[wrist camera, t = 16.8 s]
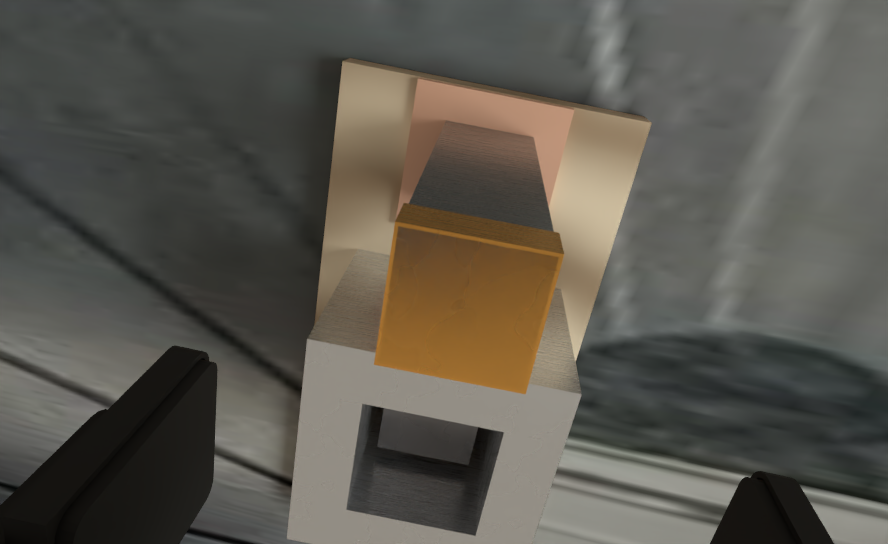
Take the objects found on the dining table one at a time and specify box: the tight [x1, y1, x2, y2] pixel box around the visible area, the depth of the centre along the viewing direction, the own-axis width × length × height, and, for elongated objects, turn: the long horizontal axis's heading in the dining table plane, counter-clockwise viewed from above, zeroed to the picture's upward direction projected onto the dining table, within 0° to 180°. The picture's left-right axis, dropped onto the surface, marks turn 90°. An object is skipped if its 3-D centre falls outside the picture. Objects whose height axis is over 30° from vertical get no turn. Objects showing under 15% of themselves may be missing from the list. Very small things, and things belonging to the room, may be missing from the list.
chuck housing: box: [287, 249, 582, 544], centre depth 29 cm, size 10×10×9 cm
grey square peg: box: [374, 120, 564, 394], centre depth 22 cm, size 4×4×14 cm
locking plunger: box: [377, 408, 478, 465], centre depth 29 cm, size 4×4×1 cm
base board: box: [314, 58, 651, 362], centre depth 34 cm, size 28×14×2 cm, turn 170°
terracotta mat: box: [396, 78, 574, 219], centre depth 29 cm, size 7×7×1 cm
